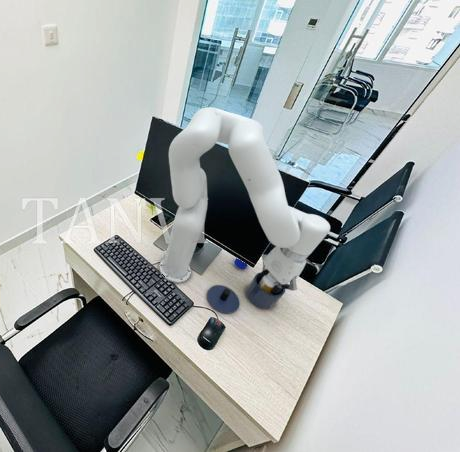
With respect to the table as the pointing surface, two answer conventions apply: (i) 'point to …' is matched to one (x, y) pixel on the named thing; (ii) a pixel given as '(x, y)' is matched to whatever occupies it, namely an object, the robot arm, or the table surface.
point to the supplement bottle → (268, 283)
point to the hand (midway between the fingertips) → (268, 284)
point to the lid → (223, 299)
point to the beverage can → (240, 264)
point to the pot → (261, 294)
